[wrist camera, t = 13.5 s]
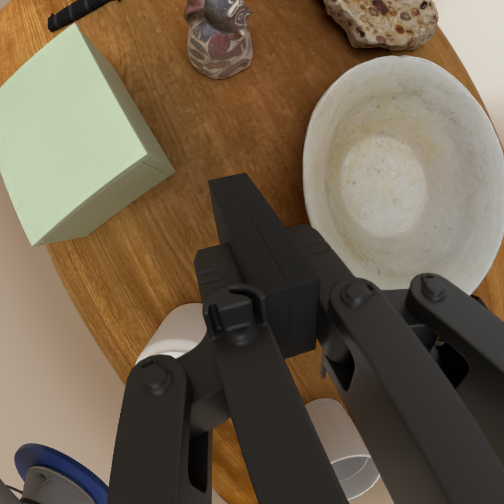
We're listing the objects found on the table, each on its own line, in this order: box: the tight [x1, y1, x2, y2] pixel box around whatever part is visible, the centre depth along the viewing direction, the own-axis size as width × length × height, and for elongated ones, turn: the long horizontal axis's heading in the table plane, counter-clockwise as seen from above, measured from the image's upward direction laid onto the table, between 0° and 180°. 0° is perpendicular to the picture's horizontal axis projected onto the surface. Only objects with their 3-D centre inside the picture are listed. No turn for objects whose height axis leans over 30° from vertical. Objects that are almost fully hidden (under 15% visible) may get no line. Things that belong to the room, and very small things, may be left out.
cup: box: [305, 398, 380, 500], centre depth 30 cm, size 8×8×12 cm
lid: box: [0, 23, 150, 246], centre depth 21 cm, size 16×13×1 cm
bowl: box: [302, 55, 504, 296], centre depth 28 cm, size 24×24×10 cm
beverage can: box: [135, 303, 207, 365], centre depth 28 cm, size 8×8×12 cm
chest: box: [38, 31, 176, 245], centre depth 26 cm, size 16×13×10 cm
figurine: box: [184, 0, 254, 79], centre depth 24 cm, size 7×7×12 cm
